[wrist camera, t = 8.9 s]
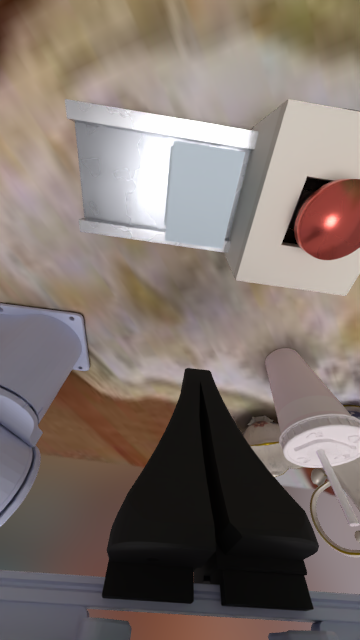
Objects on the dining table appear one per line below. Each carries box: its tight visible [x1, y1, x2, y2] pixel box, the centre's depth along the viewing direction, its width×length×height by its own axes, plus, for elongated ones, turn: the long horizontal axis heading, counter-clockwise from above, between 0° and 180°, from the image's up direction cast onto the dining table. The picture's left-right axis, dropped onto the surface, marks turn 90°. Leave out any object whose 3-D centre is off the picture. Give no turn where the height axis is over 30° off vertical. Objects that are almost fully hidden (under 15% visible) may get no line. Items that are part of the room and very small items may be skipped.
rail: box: [65, 99, 259, 253], centre depth 15 cm, size 11×7×2 cm, turn 83°
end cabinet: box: [223, 99, 360, 296], centre depth 14 cm, size 7×8×6 cm
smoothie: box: [265, 348, 360, 526], centre depth 19 cm, size 6×6×14 cm
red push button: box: [288, 179, 360, 260], centre depth 12 cm, size 3×3×5 cm
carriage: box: [164, 141, 245, 249], centre depth 13 cm, size 4×4×6 cm
